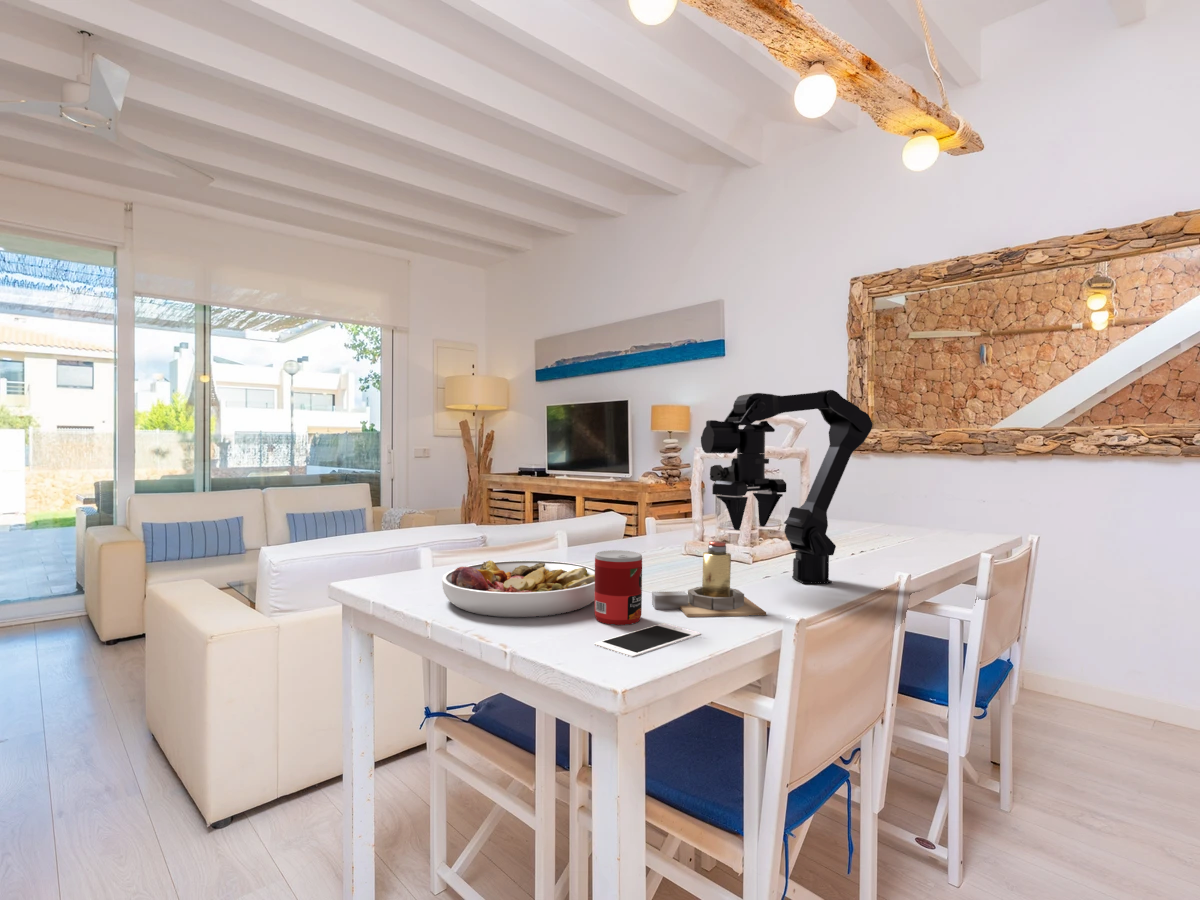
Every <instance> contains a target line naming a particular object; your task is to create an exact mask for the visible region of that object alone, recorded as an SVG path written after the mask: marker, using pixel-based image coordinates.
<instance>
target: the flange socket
mask: <svg viewBox="0 0 1200 900" xmlns="http://www.w3.org/2000/svg"><path fill="white" fill-rule="evenodd" d="M651 605H653V606H652V607H653V608H654V610H671V609H672V610H673V609H674V610H676V609H677V610H679V609H680V610H682V611H681V612H682V613H683V614H684V616H686V618H687V617H688V618H691V617H692V618H695V617H696V618H697V617H698V618H700V617H703V618H704V617H706V618H707V617H743V616H744V617H748V616H749V615H759V616H767V611H765V610H764V609H763V608H761V607H759V606H758V604H755V603H754V602H753V601H752V600H750V599H749V598H747V597H746V596H745V593H743V592H742V591H741V590H739V589H737V588H731V587H730V597H709V596H703V595H702V586H696V587H694V588H693V587H692V588H690V589H688V590H687V592H686V591H683V590H681V591H680V590H678V591H652V592H651Z"/></svg>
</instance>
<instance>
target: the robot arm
mask: <svg viewBox="0 0 1200 900" xmlns="http://www.w3.org/2000/svg"><path fill="white" fill-rule="evenodd" d="M810 410H818V411H819V412H820V414H821V416H822V419H823V420H824V422H825V423H826V424H827V425H829V429H828V430H829V431H828V439H829V447H828V449H827V450H826V454H825V455H824V458H823V460H822V462H821V464H820V467H819V470H818V472H817V474H816V476H815V478H814V480H813V483H812V485H811V488H810V491H809V492H808V494H807V497H806V499H805V501H804V503H803V504H802V505H801V506H800V507H796V506H792V507H791V508H790V510H789V512H788V513H789V514H788V517H787V518H786V520H785V521H784V522H783V524H784V525H785V526H784V535H785V537H786V539H787V541H788V542H789V546H790V548H791V550H792V551H795V554H794V556H795V557H794V558H793V560H792V561H793V562H792V576H791V578H792V579H793V580H795V581H798V582H800V583H801V584H805V585H806V584H807V585H808V584H832V583H833V580H831V579H829V578H830V577H829V575H830V556H834V554H835V551H836V547H837V546H836V544H835V543H834V542H833V541H832V539H831V538H830V537H829V536H828V535H827V531H828V528H829V523H828V513H827V512H828V509H829V507H830V506H831V505H830V504H831V502H832V501H833V498H834V495H835V493H836V491H837V489H838V486H839V484H840V481H841V479H842V477H843V475H844V472H845V470H846V469H847V465H848V463H849V462H850V458H851V456H852V454H853V453H854V452H855V450H857V449H858V448H859V447H860V446H861V445H863V443H864V442H865V441H866V439H867V438H868V437H869V435H870V433H871V431H872V429H873V421H872V418H871V417H870V415H869V414H868V413H867V412H866V411H863V410H862V409H861V408H860V407H859V406H858V405H856V404H854V403H853V402H851V401H849V400H848V399H846V398H844V397H843V396H842V395H841V394H840V393H839V392H837V391H835V390H834V389H825V390H820V391H817V392H808V393H797V394H788V395H776V394H773V393H764V392H755V393H754V392H753V393H747V394H741V395H739V396H737V397H736V399H735V400H734V402H733V408H732V409H731V410H730V412H729V413H728V415H727V417H726V418H725V419H724V420H723V421H722V420H721V421H720V420H717V419H711V420H709V419H708V420H706V421H705V427H704V428H703V430H702V434H701V436H700V444H701V446H700V447H701V448H702V451H703V452H704V453H706V454H733V453H735V451H736V457H733V458H732V459H731V464H730V465H729V466H725V467H723V466H722V465H721V464H714V465H711V466H710V469H709V476H710V477H709V480H710V481H712V482H713V484H712V485H711V486H712V489H711V490H712V494H711V495H716V499H719V500H721V502H723V504H724V505H725V506H726V509H727V511H728V515H729V518H730V521H731V524H732V527H733V529H734V531H740V529H741V527H742V526H741V525H742V523H743V518H744V514H745V511H746V506H747V501H748V498H749V497H748V496H746V495H747V492H753V493H752V495H753V496H754V497H755V499H756V501H757V507H758V522H759V526H760V527H762V528H764V527H766V526H767V523H768V522H769V520H770V517H771V516H772V514H773V512H774V509H775V508H776V507H777V504H778V503H779V501H780V499H781V498H782V497H783V496H784V495H783V493H787V483H786V481H785V480H784V479H783V478H767V477H765V476H766V475H765V469H766V467H765V466H766V465H767V464H769V463H770V458H765V457H766V433H774V432H775V431H776V429H775V428H774V427H773V426H772V425H771V424H770V423H769V422H768V421H767V419H770V418H773V417H775V416H778V415H781V414H783V413H791V412H800V411H810ZM758 421H759V423H755V422H758ZM740 426H743V428H740ZM765 464H766V465H765Z"/></svg>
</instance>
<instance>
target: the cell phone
mask: <svg viewBox="0 0 1200 900" xmlns="http://www.w3.org/2000/svg"><path fill="white" fill-rule="evenodd" d="M698 635H699V636H701V635H702V633H701V632H699V631H695V630H691V629H687V628H685V627H681V626H676V625H674V624H673V625H672V624H669V623H665V622H663V623H659V624H654V625H652V626H648V627H644V628H641V629H638V630H634V631H630V632H628V633H627V632H626V633H623V634H619V635H617V636H613V637H610V638H607V639H603V640H599V641H597V642H594V646H596V645H597V646H596V647H598V646H600V647H599V648H601V647H603V648H602V649H605V650H608V649H609V650H608V651H611V650H612V651H611V652H614V651H615V652H614V653H617V652H619V653H618V654H620V653H622V654H621V655H623V654H625V655H624V656H626V655H628V656H627V657H629V656H635V655H639V654H642V653H645V652H648V651H651V652H653V651H652V650H654V651H656V650H655V649H657V650H659V649H658V648H660V649H663V648H665V646H666V647H668V646H667V645H669V644H672V643H675V642H678V641H681V640H684V639H687V640H689V639H688V638H690V639H692V638H691V637H693V638H695V636H696V637H698ZM684 641H685V640H684ZM681 642H682V641H681ZM678 643H679V642H678ZM675 644H676V643H675ZM672 645H673V644H672ZM669 646H670V645H669ZM662 647H663V648H662ZM648 653H649V652H648ZM645 654H646V653H645ZM642 655H643V654H642ZM639 656H640V655H639Z"/></svg>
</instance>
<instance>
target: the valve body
mask: <svg viewBox="0 0 1200 900" xmlns="http://www.w3.org/2000/svg"><path fill="white" fill-rule="evenodd" d="M707 547H708V549H707V551H705V552H703V553H702V581H701V583H702V586H701V587H702V595H703V596H709V597H730V588H731V569H732V568H731V565H732V562H731V561H732V560H731V559H732V554H731V553H730V552H727V544H726V542H725V541H720V540H710V541H709V542H708V546H707Z"/></svg>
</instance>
